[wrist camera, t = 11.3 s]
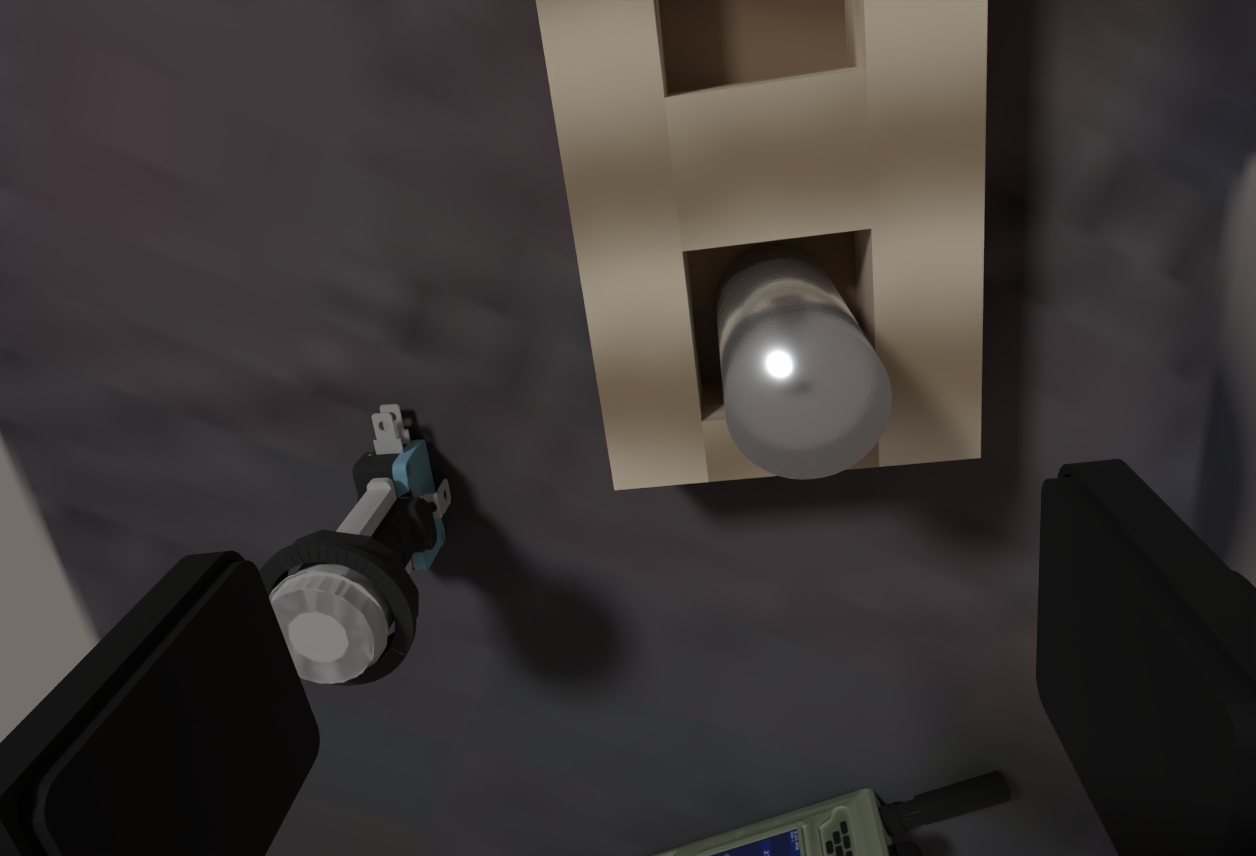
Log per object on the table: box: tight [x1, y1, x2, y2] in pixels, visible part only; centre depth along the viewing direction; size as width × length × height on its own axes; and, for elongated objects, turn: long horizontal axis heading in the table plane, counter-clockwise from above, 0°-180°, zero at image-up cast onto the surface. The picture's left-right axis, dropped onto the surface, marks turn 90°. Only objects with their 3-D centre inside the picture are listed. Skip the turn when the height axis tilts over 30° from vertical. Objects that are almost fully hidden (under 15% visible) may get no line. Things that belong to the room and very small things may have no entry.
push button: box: [259, 404, 451, 686], centre depth 32 cm, size 7×5×10 cm
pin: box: [716, 243, 892, 480], centre depth 26 cm, size 4×4×10 cm
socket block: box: [536, 0, 988, 490], centre depth 28 cm, size 20×12×5 cm, turn 8°
